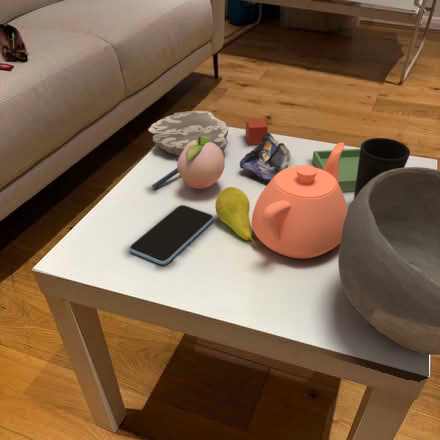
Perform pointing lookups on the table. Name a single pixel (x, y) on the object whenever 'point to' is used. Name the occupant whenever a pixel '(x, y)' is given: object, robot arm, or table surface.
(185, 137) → the brain slice
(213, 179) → the decorative fruit
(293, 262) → the table surface
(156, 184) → the pencil
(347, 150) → the green tray
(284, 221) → the teapot
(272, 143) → the snack package
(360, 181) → the cup
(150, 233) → the smartphone
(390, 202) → the bowl
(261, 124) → the red block
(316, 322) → the table surface
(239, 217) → the fruit
